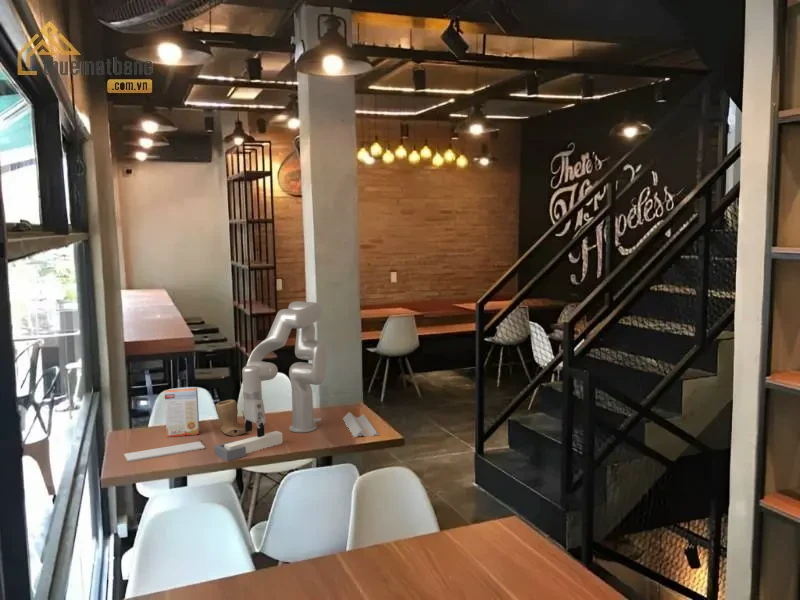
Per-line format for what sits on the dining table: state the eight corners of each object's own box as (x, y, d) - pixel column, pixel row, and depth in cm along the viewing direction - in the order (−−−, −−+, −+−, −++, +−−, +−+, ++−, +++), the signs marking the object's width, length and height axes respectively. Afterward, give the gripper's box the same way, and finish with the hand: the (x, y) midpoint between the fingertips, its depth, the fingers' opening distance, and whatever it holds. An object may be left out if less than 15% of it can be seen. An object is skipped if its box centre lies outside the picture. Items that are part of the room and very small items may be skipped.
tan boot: (214, 430, 308) (213, 398, 307) (240, 426, 313) (239, 395, 312) (220, 439, 295) (219, 406, 293) (247, 435, 300) (246, 403, 298)
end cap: (232, 450, 279) (232, 441, 279) (245, 456, 271) (245, 446, 271) (214, 455, 273) (214, 445, 273) (227, 461, 266) (226, 451, 265)
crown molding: (379, 437, 298) (378, 429, 298) (352, 439, 295) (352, 431, 295) (365, 418, 328) (365, 411, 328) (341, 420, 325) (341, 412, 325)
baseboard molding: (123, 455, 275) (127, 464, 265) (122, 448, 275) (127, 457, 265) (198, 442, 291) (205, 450, 281) (198, 436, 291) (205, 443, 281)
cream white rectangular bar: (276, 441, 291) (276, 430, 291) (282, 443, 288) (282, 432, 287) (224, 456, 273) (224, 444, 272) (230, 458, 269) (229, 447, 269)
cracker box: (199, 431, 306) (197, 387, 304) (198, 435, 300) (196, 390, 298) (167, 433, 303) (166, 389, 301) (166, 437, 297) (164, 392, 295)
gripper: (271, 396, 274) (273, 436, 276) (249, 389, 287) (251, 427, 289) (255, 400, 269) (258, 440, 271) (234, 393, 281) (236, 431, 284)
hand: (254, 433), depth 280 cm, fingers open, 9 cm apart
